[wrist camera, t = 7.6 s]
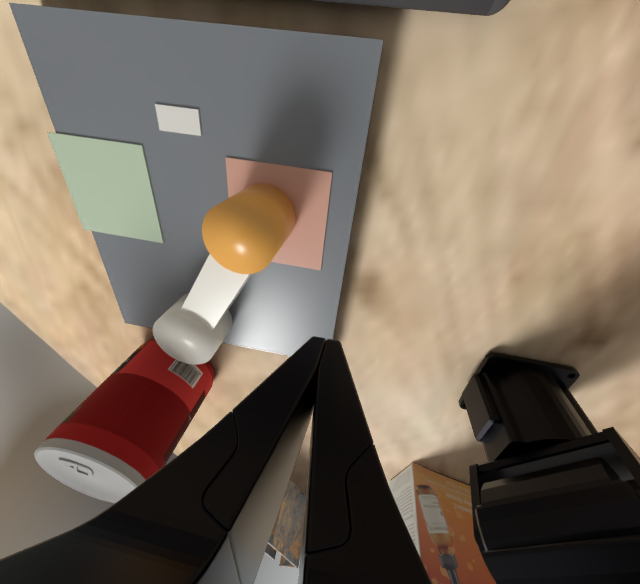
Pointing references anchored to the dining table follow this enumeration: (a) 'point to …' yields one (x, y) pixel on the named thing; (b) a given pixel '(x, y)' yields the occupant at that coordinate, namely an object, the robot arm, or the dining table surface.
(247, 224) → the lever
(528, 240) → the dining table surface
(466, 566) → the small box
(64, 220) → the dining table surface
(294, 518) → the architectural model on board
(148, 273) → the panel
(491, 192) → the dining table surface
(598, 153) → the dining table surface
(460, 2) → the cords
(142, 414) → the canned food
